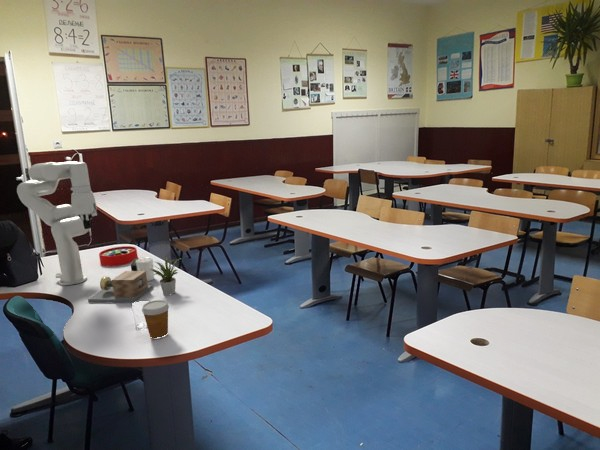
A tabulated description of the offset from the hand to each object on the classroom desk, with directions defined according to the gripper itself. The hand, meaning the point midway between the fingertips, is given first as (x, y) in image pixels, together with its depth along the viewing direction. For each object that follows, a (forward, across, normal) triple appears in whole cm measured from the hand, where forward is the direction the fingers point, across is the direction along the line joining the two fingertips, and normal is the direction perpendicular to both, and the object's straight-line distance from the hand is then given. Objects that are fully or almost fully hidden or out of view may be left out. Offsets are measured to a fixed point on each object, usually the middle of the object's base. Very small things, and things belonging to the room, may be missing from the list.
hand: (88, 228), depth 228 cm
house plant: (+29, +40, -6) cm, 50 cm away
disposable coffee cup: (+29, +54, -49) cm, 79 cm away
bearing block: (+28, +23, -10) cm, 37 cm away
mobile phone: (+30, +6, +26) cm, 40 cm away
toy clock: (+30, -12, +42) cm, 52 cm away
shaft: (+27, +19, -10) cm, 34 cm away
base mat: (+29, +18, -10) cm, 36 cm away
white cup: (+29, +20, +11) cm, 37 cm away
